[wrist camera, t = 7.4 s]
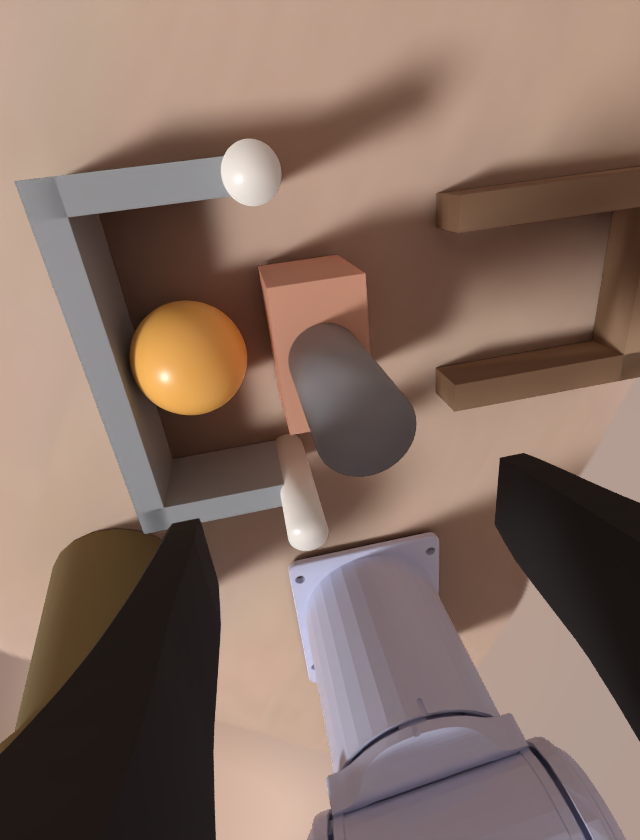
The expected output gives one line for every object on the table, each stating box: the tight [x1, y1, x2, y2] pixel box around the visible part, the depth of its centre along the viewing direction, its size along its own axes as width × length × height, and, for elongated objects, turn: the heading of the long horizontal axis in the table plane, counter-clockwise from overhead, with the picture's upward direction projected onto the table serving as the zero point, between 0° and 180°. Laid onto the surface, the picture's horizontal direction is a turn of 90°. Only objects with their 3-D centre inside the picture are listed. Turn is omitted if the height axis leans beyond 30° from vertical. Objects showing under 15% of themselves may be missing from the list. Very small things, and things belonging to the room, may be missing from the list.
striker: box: [258, 255, 416, 477], centre depth 15 cm, size 5×3×9 cm, turn 6°
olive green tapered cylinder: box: [0, 529, 162, 754], centre depth 18 cm, size 6×6×11 cm
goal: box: [14, 139, 329, 551], centre depth 16 cm, size 12×7×6 cm, turn 6°
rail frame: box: [436, 166, 640, 412], centre depth 19 cm, size 8×8×2 cm
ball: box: [129, 300, 247, 415], centre depth 17 cm, size 4×4×4 cm
